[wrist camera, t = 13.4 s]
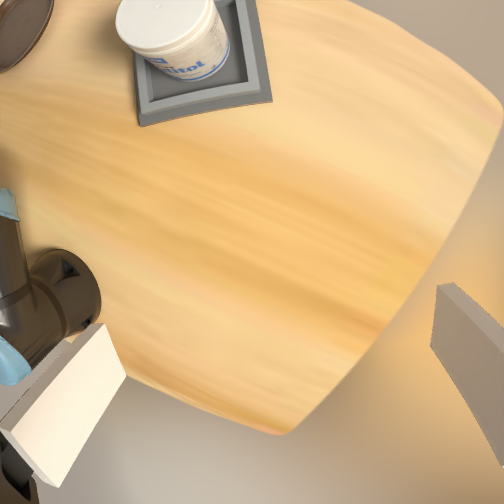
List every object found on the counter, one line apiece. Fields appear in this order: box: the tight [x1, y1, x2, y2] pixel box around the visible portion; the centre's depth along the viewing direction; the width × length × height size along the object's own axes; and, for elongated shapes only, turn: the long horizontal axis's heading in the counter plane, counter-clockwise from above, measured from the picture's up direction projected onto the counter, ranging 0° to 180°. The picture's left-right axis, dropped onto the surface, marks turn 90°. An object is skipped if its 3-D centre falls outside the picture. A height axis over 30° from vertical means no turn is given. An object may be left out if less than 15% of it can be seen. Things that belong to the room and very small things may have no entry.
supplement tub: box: [115, 0, 230, 82], centre depth 27 cm, size 10×10×15 cm
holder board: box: [133, 0, 273, 127], centre depth 34 cm, size 18×18×3 cm
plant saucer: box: [0, 0, 54, 72], centre depth 32 cm, size 21×21×3 cm
